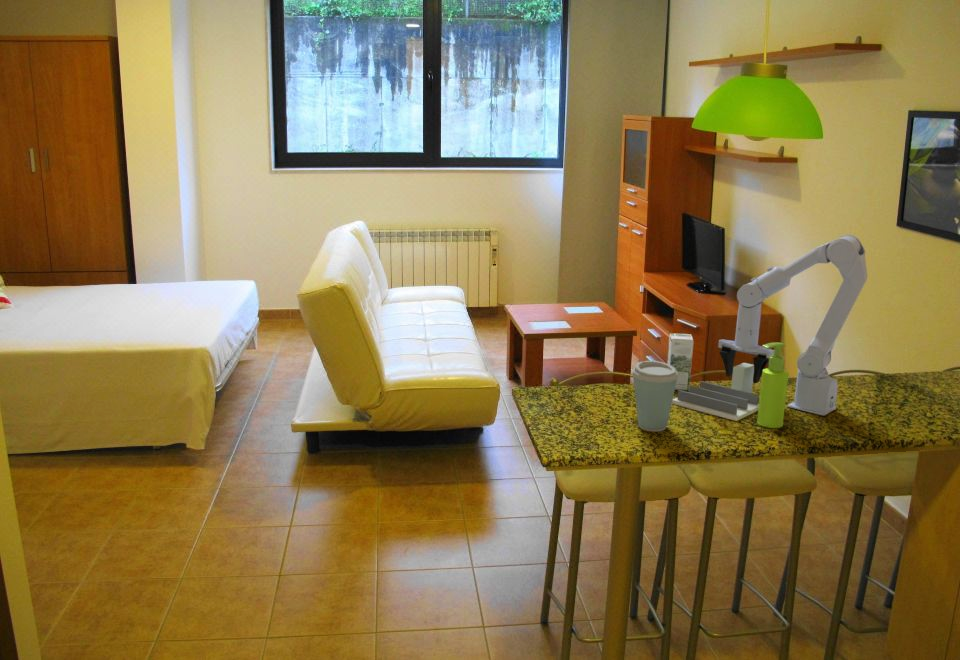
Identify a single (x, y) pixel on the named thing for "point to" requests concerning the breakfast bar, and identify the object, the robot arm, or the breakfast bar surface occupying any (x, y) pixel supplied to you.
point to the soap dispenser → (773, 389)
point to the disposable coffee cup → (654, 393)
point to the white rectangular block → (743, 377)
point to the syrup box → (681, 358)
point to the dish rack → (718, 401)
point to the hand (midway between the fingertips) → (742, 379)
